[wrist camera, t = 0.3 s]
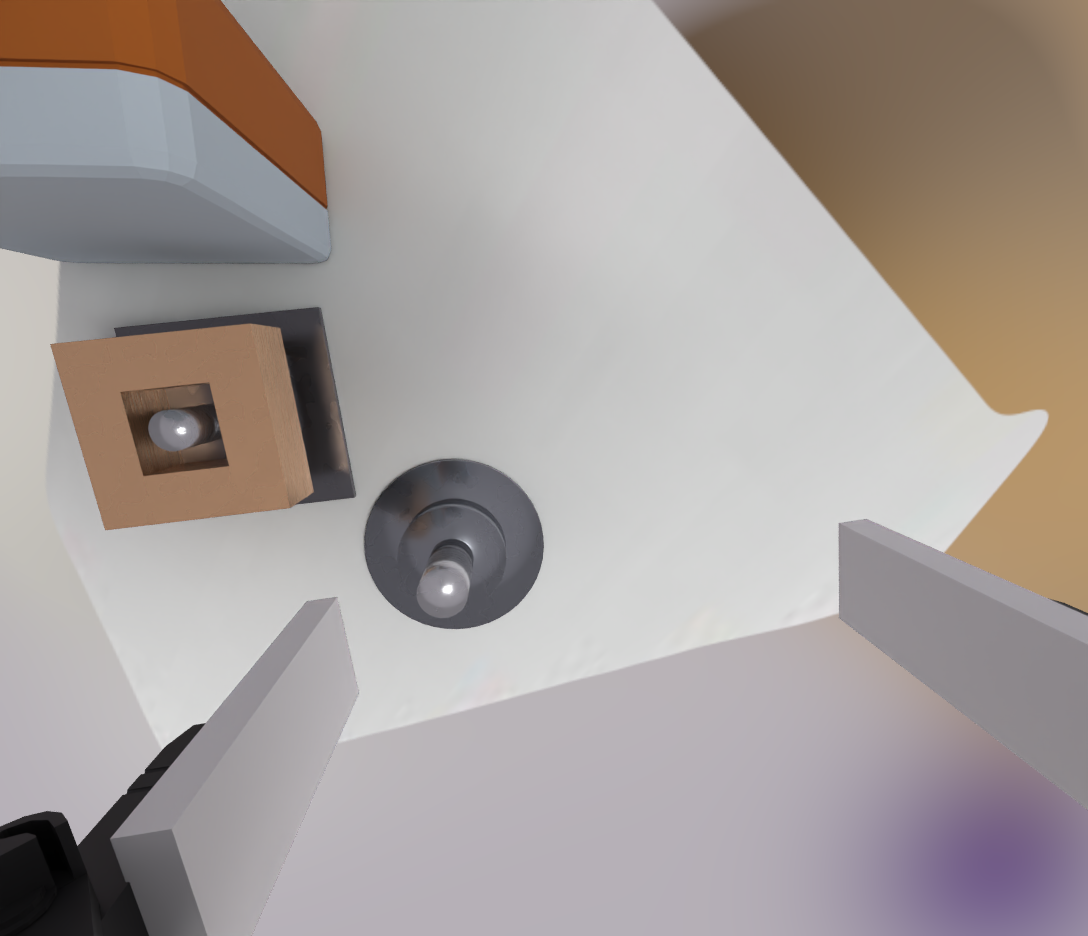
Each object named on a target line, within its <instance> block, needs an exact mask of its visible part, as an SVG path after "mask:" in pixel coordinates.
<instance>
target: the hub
mask: <svg viewBox="0 0 1088 936" xmlns="http://www.w3.org/2000/svg"><path fill="white" fill-rule="evenodd" d="M543 549H544V543H543V533H542V527H541V523H540V520H539V517H538V514H537V512H536V509H535V507H534V505H533V503H532V502H531V500H530V499H529V497H528V496H527V494H526V493H525V492H524V491H523V490H522V489H521V487H520V486H519V485H518V484H516V483H515V482H514V481H513V480H512V479H511V478H509V477H508V476H506V475H505V474H503V473H502V472H500V471H498V470H496V469H494V468H492V467H490V466H487V465H485V464H482V463H479V462H474V461H469V460H459V459H450V460H440V461H434V462H430V463H427V464H424V465H420V466H418V467H416V468H414V469H412V470H410V471H408V472H406V473H405V474H403V475H402V476H400V477H399V478H398V479H397V480H395V481H394V482H393V483H392V484H391V485H390V486H389V487H388V488H387V489H386V490H385V491H384V493H383V494H382V495H381V496H380V498H379V499H378V501H377V502H376V504H375V506H374V508H373V510H372V512H371V514H370V517H369V520H368V523H367V527H366V533H365V556H366V561H367V565H368V569H369V572H370V574H371V576H372V579H373V581H374V583H375V584H376V586H377V588H378V589H379V591H380V592H381V593H382V595H383V596H384V597H385V598H386V599H387V600H388V601H389V602H390V603H391V604H392V605H393V606H394V607H395V608H396V609H398V610H399V611H400V612H402V613H403V614H405V615H406V616H408V617H410V618H411V619H414V620H416V621H418V622H421V623H423V624H426V625H430V626H433V627H439V628H445V629H463V628H471V627H476V626H480V625H483V624H486V623H489V622H491V621H494V620H496V619H498V618H500V617H501V616H503V615H505V614H506V613H508V612H509V611H510V610H512V609H513V608H514V607H515V606H517V605H518V604H519V603H520V602H521V601H522V599H523V598H524V597H525V596H526V595H527V593H528V592H529V591H530V589H531V588H532V586H533V584H534V582H535V580H536V578H537V576H538V573H539V571H540V567H541V563H542V559H543Z"/></svg>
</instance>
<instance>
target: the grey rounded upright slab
mask: <svg viewBox="0 0 1088 936" xmlns="http://www.w3.org/2000/svg"><path fill="white" fill-rule="evenodd" d="M326 209H327V195H326V183H325V172H324V160H323V149H322V137H321V131H320V129H319V126H318V124H317V122H316V121H315V120H314V118H313V117H312V116H311V114H310V113H309V112H308V111H307V109H306V108H305V107H304V105H303V104H302V103H301V102H300V100H299V99H298V98H297V96H296V95H295V94H294V93H293V91H292V90H291V89H290V88H289V86H288V85H287V84H286V83H285V81H284V80H283V79H282V78H281V76H280V75H279V74H278V73H277V71H276V70H275V69H274V68H273V66H272V65H271V64H270V62H269V61H268V60H267V59H266V57H265V56H264V55H263V54H262V52H261V51H260V50H259V49H258V47H257V46H256V45H255V43H254V42H253V41H252V40H251V38H250V37H249V36H248V35H247V33H246V32H245V31H244V29H243V28H242V27H241V26H240V24H239V23H238V22H237V21H236V19H235V18H234V17H233V15H232V14H231V13H230V12H229V10H228V9H227V8H226V7H225V5H224V4H223V3H222V1H221V0H0V248H2V249H7V250H12V251H16V252H20V253H25V254H29V255H34V256H38V257H43V258H47V259H52V260H57V261H64V262H78V263H319V262H322V261H326V260H327V259H328V257H329V254H330V251H331V242H330V230H329V218H328V211H327V210H326Z"/></svg>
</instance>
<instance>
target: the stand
mask: <svg viewBox="0 0 1088 936" xmlns="http://www.w3.org/2000/svg"><path fill="white" fill-rule="evenodd" d="M241 324H257V325H263V326H270V327H276V328H280V330H281V334H282V339H283V344H284V349H285V354H286V359H287V364H288V369H289V373H290V378H291V383H292V388H293V393H294V398H295V403H296V408H297V412H298V417H299V422H300V427H301V432H302V437H303V442H304V447H305V451H306V456H307V461H308V466H309V471H310V476H311V481H312V486H313V490H314V492H313V493H312V494H310V495H309V496H307V497H306V498H304V499H303V500H301V501H300V502H298V503H297V504H304V503H312V502H321V501H329V500H337V499H346V498H354V497H355V496H356V492H355V487H354V482H353V477H352V471H351V466H350V461H349V455H348V450H347V445H346V439H345V434H344V429H343V423H342V418H341V413H340V407H339V402H338V397H337V391H336V386H335V381H334V375H333V370H332V365H331V359H330V354H329V349H328V344H327V338H326V333H325V328H324V322H323V317H322V312H321V308H319V307H316V308H306V309H297V310H287V311H277V312H267V313H258V314H248V315H238V316H228V317H218V318H209V319H199V320H189V321H179V322H169V323H160V324H150V325H140V326H130V327H121V328H114V329H115V333H116V337H124V336H134V335H144V334H154V333H163V332H173V331H183V330H192V329H202V328H212V327H221V326H231V325H241ZM165 391H166V395H167V399H168V402H169V406H170V410H164V411H160V412H158V413H156V414H155V415H154V416H153V417H152V418H151V420H150V422H149V426H148V431H149V435H150V437H151V439H152V441H153V442H154V443H155V444H156V445H157V446H158V447H160V448H162V449H164V450H167V451H179V450H181V453H182V457H183V461H184V463H192V462H201V461H209V460H218V459H227V455H226V451H225V447H224V443H223V439H222V434H221V430H220V426H219V422H218V417H217V413H216V409H215V405H214V401H213V396H212V392H211V388H210V384H202V385H193V386H183V387H174V388H165ZM295 505H296V504H295Z"/></svg>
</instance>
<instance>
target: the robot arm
mask: <svg viewBox="0 0 1088 936" xmlns="http://www.w3.org/2000/svg"><path fill="white" fill-rule="evenodd" d="M839 618H840V619H841V620H842V621H844V622H845V623H846V624H848V625H849V626H850V627H851V628H853V629H854V630H855V631H856V632H858V633H859V634H860V635H862V636H863V637H865V638H866V639H867V640H868V641H869V642H871V643H872V644H873V645H875V646H876V647H877V648H878V649H880V650H881V651H882V652H884V653H885V654H886V655H888V656H889V657H890V658H891V659H893V660H894V661H895V662H897V663H898V664H899V665H900V666H902V667H903V668H905V669H906V670H907V671H908V672H910V673H911V674H912V675H913V676H915V677H916V678H917V679H919V680H920V681H921V682H923V683H924V684H925V685H927V686H928V687H929V688H930V689H932V690H933V691H934V692H936V693H937V694H938V695H939V696H941V697H942V698H943V699H945V700H946V701H947V702H948V703H950V704H951V705H952V706H954V707H955V708H956V709H957V710H959V711H960V712H961V713H963V714H964V715H965V716H967V717H968V718H969V719H970V720H972V721H973V722H974V723H976V724H977V725H978V726H980V727H981V728H982V729H983V730H985V731H986V732H988V733H989V734H990V735H991V736H993V737H994V738H995V739H996V740H998V741H999V742H1000V743H1002V744H1003V745H1004V746H1006V747H1007V748H1008V749H1009V750H1011V751H1012V752H1013V753H1014V754H1016V755H1017V756H1018V757H1020V758H1021V759H1022V760H1024V761H1025V762H1026V763H1027V764H1029V765H1030V766H1031V767H1033V768H1034V769H1035V770H1036V771H1038V772H1039V773H1040V774H1042V775H1043V776H1044V777H1046V778H1047V779H1048V780H1049V781H1051V782H1052V783H1054V784H1055V785H1056V786H1057V787H1058V788H1060V789H1061V790H1062V791H1064V792H1065V793H1066V794H1068V795H1069V796H1070V797H1071V798H1073V799H1074V800H1075V801H1077V802H1078V803H1079V804H1081V805H1082V806H1083V807H1084V808H1086V809H1087V810H1088V613H1086V612H1083V611H1081V610H1079V609H1077V608H1074V607H1072V606H1070V605H1068V604H1065V603H1062V602H1059V601H1055V600H1051V599H1048V598H1045V597H1043V596H1041V595H1038V594H1036V593H1034V592H1032V591H1029V590H1027V589H1025V588H1023V587H1020V586H1018V585H1016V584H1013V583H1011V582H1009V581H1007V580H1004V579H1002V578H1000V577H997V576H995V575H993V574H991V573H988V572H986V571H984V570H982V569H979V568H977V567H975V566H972V565H970V564H968V563H966V562H963V561H961V560H959V559H957V558H954V557H952V556H950V555H947V554H945V553H943V552H941V551H938V550H936V549H934V548H931V547H929V546H927V545H925V544H922V543H920V542H918V541H915V540H913V539H911V538H909V537H906V536H904V535H902V534H900V533H897V532H895V531H893V530H890V529H888V528H886V527H884V526H881V525H879V524H877V523H874V522H872V521H870V520H868V519H864V520H857V521H850V522H843V523H839ZM358 694H359V690H358V686H357V681H356V677H355V672H354V668H353V664H352V659H351V655H350V650H349V646H348V642H347V637H346V633H345V628H344V624H343V620H342V615H341V611H340V606H339V602H338V598H337V597H334V598H327V599H320V600H313V601H307V602H306V603H305V604H304V605H303V607H302V608H301V609H300V610H299V611H298V613H297V614H296V615H295V616H294V617H293V619H292V620H291V621H290V622H289V623H288V625H287V626H286V627H285V628H284V629H283V631H282V632H281V633H280V634H279V636H278V637H277V638H276V639H275V640H274V642H273V643H272V644H271V645H270V646H269V648H268V649H267V650H266V651H265V652H264V654H263V655H262V656H261V657H260V658H259V660H258V661H257V662H256V663H255V665H254V666H253V667H252V668H251V669H250V671H249V672H248V673H247V674H246V675H245V677H244V678H243V679H242V680H241V681H240V683H239V684H238V685H237V686H236V687H235V689H234V690H233V691H232V692H231V693H230V695H229V696H228V697H227V698H226V700H225V701H224V702H223V703H222V704H221V706H220V707H219V708H218V709H217V710H216V712H215V713H214V714H213V715H212V716H211V718H210V719H209V720H208V721H207V722H206V723H204V724H198V725H193V726H192V727H191V728H189V729H188V730H187V731H185V732H184V733H183V734H181V735H180V736H179V737H177V738H176V739H175V740H173V741H172V742H171V743H169V744H168V745H167V746H166V747H165V748H164V749H163V750H162V751H161V752H160V753H159V755H158V756H157V757H156V758H155V759H154V760H153V761H152V762H151V764H150V765H149V766H148V767H147V768H146V769H145V774H141V775H140V776H139V777H138V778H137V779H136V781H135V782H134V783H133V784H132V785H131V786H130V787H129V789H128V790H127V794H126V795H122V796H121V797H120V799H119V800H118V801H117V802H116V803H115V804H114V805H113V807H112V808H111V809H110V810H109V811H108V812H107V813H106V815H105V816H104V817H103V818H102V819H101V820H100V821H99V822H98V824H97V825H96V826H95V827H94V828H93V829H92V830H91V832H90V833H89V834H88V835H87V836H86V837H85V838H84V839H83V841H82V842H81V843H80V844H79V845H78V846H77V844H76V842H75V839H74V836H73V834H72V831H71V829H70V826H69V824H68V821H67V819H66V818H65V817H64V815H63V814H62V813H59V812H50V811H46V812H42V813H37V814H33V815H29V816H24V817H22V818H20V819H17V820H15V821H12V822H10V823H8V824H5V825H3V826H1V827H0V936H252V934H253V932H254V930H255V927H256V925H257V923H258V921H259V918H260V916H261V914H262V911H263V909H264V907H265V905H266V903H267V900H268V898H269V896H270V893H271V891H272V889H273V887H274V884H275V882H276V880H277V878H278V875H279V873H280V871H281V869H282V866H283V864H284V862H285V860H286V857H287V855H288V853H289V851H290V848H291V846H292V844H293V841H294V839H295V837H296V835H297V832H298V830H299V828H300V826H301V823H302V821H303V819H304V816H305V814H306V812H307V810H308V808H309V805H310V803H311V800H312V798H313V796H314V794H315V791H316V789H317V787H318V785H319V783H320V780H321V778H322V776H323V773H324V771H325V769H326V767H327V764H328V762H329V760H330V758H331V755H332V753H333V751H334V749H335V746H336V744H337V742H338V740H339V737H340V735H341V733H342V731H343V728H344V726H345V724H346V722H347V719H348V717H349V715H350V713H351V710H352V708H353V706H354V703H355V701H356V699H357V697H358Z"/></svg>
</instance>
